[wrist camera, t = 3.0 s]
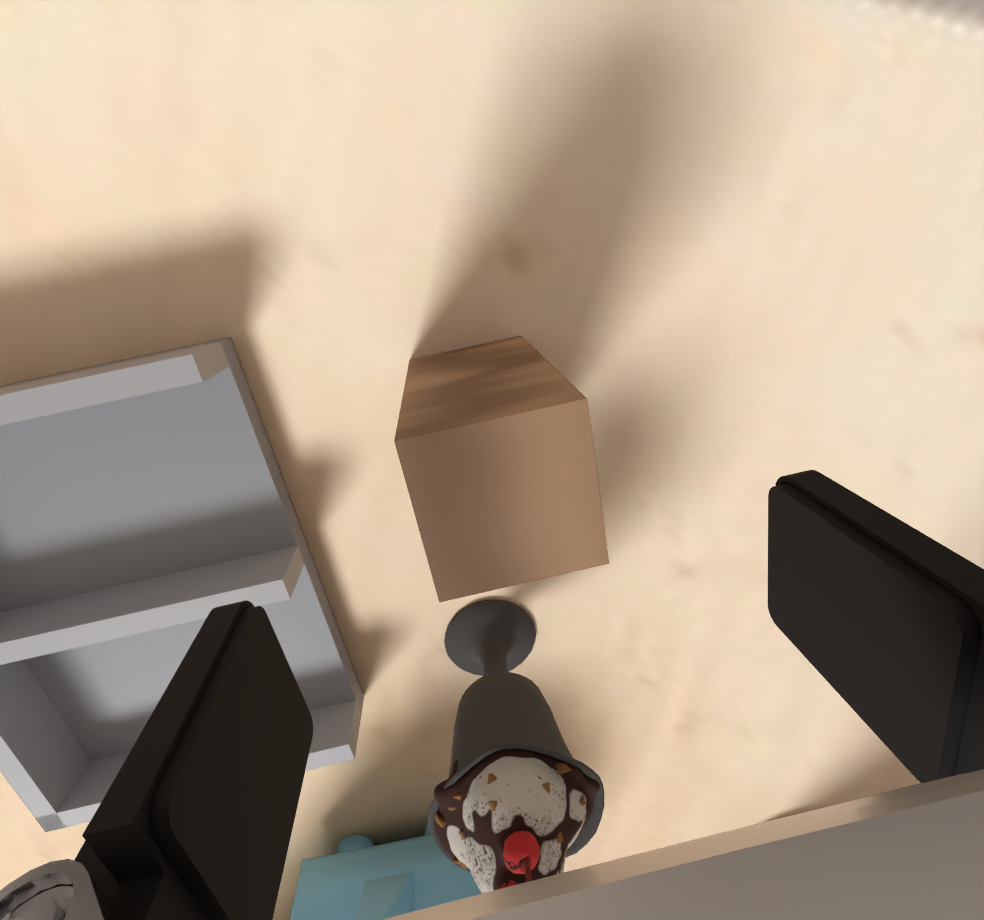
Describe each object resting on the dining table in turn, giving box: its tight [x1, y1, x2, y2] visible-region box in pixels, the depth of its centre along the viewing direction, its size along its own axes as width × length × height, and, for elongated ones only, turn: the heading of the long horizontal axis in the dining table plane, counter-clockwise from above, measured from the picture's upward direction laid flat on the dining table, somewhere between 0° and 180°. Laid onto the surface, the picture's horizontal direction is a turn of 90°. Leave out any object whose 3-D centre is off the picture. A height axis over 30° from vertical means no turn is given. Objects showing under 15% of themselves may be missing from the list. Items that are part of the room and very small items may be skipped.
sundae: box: [427, 600, 604, 894], centre depth 23 cm, size 7×7×15 cm
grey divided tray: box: [0, 337, 364, 832], centre depth 25 cm, size 15×20×4 cm
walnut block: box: [395, 336, 609, 602], centre depth 20 cm, size 5×5×11 cm
